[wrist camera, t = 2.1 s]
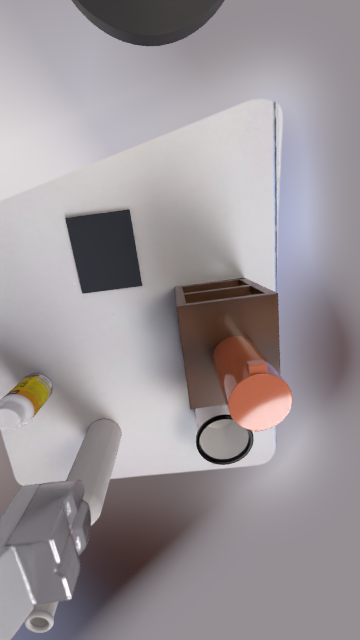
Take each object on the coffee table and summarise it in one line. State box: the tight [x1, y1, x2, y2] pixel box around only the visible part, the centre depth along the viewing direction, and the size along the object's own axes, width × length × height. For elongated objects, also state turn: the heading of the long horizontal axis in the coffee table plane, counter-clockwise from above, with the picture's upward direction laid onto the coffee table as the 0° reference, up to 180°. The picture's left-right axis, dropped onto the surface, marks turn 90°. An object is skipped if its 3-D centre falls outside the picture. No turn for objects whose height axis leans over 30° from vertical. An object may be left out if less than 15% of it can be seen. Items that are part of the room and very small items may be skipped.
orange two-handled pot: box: [212, 336, 292, 432], centre depth 29 cm, size 8×6×10 cm
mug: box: [195, 405, 253, 465], centre depth 49 cm, size 12×10×9 cm
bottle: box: [25, 419, 122, 633], centre depth 40 cm, size 7×7×28 cm
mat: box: [66, 210, 142, 293], centre depth 44 cm, size 12×10×1 cm
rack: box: [175, 278, 280, 409], centre depth 41 cm, size 14×12×15 cm
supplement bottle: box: [0, 374, 53, 431], centre depth 46 cm, size 6×6×10 cm
